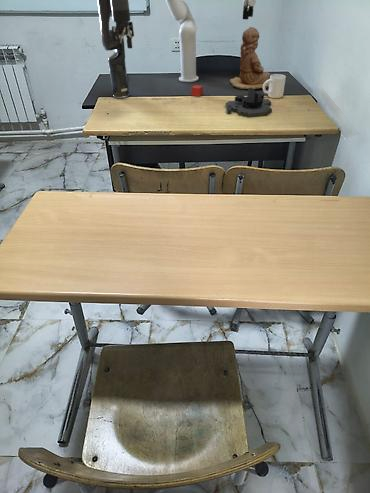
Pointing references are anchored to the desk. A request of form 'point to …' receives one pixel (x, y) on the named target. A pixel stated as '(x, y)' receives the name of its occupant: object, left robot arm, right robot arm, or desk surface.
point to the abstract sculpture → (249, 104)
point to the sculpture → (250, 63)
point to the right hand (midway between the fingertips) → (247, 17)
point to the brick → (197, 90)
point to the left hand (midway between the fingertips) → (125, 50)
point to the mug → (275, 86)
